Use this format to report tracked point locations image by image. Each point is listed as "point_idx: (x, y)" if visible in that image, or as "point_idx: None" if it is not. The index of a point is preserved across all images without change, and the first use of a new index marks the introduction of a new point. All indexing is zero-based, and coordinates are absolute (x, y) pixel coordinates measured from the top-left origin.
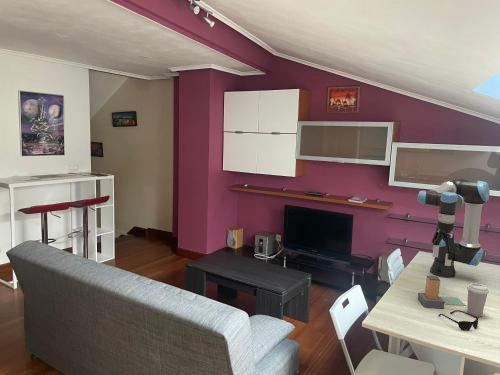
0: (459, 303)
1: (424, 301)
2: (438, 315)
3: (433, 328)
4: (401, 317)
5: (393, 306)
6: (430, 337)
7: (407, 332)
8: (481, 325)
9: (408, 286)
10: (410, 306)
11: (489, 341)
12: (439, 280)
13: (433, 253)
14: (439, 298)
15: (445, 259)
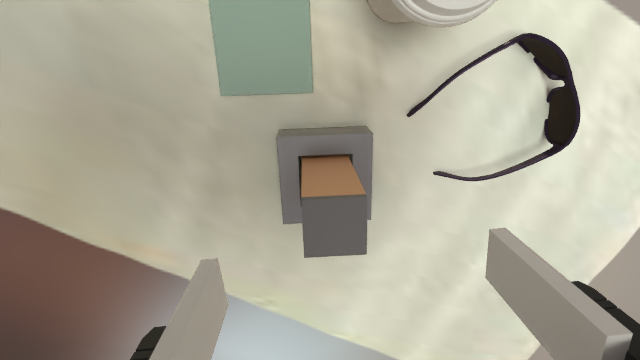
0: (291, 18)
1: None
2: (434, 174)
3: (531, 224)
4: (456, 302)
5: (373, 309)
6: (586, 252)
7: None
8: (511, 15)
9: (136, 208)
10: None
11: (635, 52)
12: (365, 198)
13: (216, 334)
14: (336, 145)
15: (524, 321)
